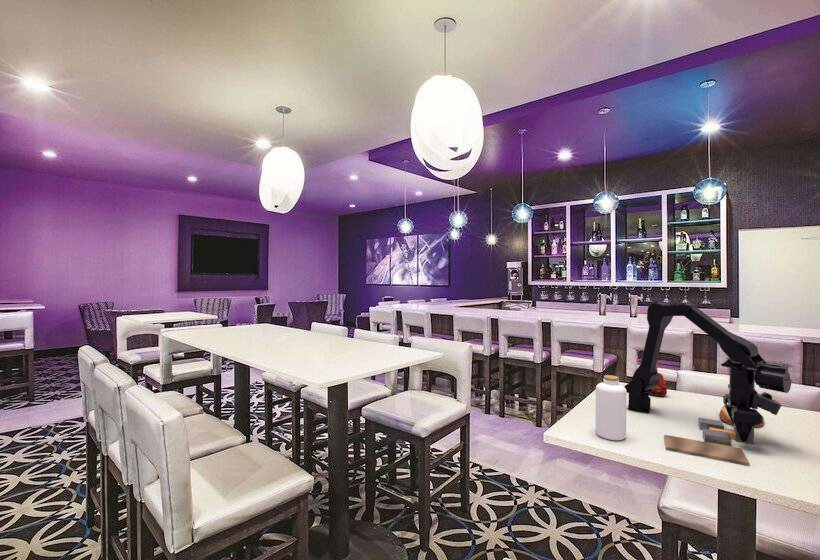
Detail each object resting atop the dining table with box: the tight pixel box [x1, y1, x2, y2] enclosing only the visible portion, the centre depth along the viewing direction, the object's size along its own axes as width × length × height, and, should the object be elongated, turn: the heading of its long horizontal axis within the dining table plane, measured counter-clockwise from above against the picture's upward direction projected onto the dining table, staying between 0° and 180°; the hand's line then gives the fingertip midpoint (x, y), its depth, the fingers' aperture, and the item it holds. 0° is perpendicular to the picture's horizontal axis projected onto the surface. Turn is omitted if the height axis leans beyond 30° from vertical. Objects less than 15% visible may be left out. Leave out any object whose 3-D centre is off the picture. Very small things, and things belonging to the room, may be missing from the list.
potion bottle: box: [594, 374, 628, 441], centre depth 119 cm, size 8×8×18 cm
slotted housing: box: [697, 417, 732, 447], centre depth 120 cm, size 6×16×2 cm, turn 149°
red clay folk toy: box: [649, 359, 668, 398], centre depth 161 cm, size 8×7×15 cm
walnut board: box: [663, 434, 750, 467], centre depth 110 cm, size 18×10×1 cm, turn 59°
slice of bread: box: [718, 403, 765, 429], centre depth 136 cm, size 18×18×4 cm
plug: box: [709, 424, 755, 445], centre depth 118 cm, size 10×4×5 cm, turn 59°
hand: (740, 436), depth 117 cm, fingers open, 8 cm apart
